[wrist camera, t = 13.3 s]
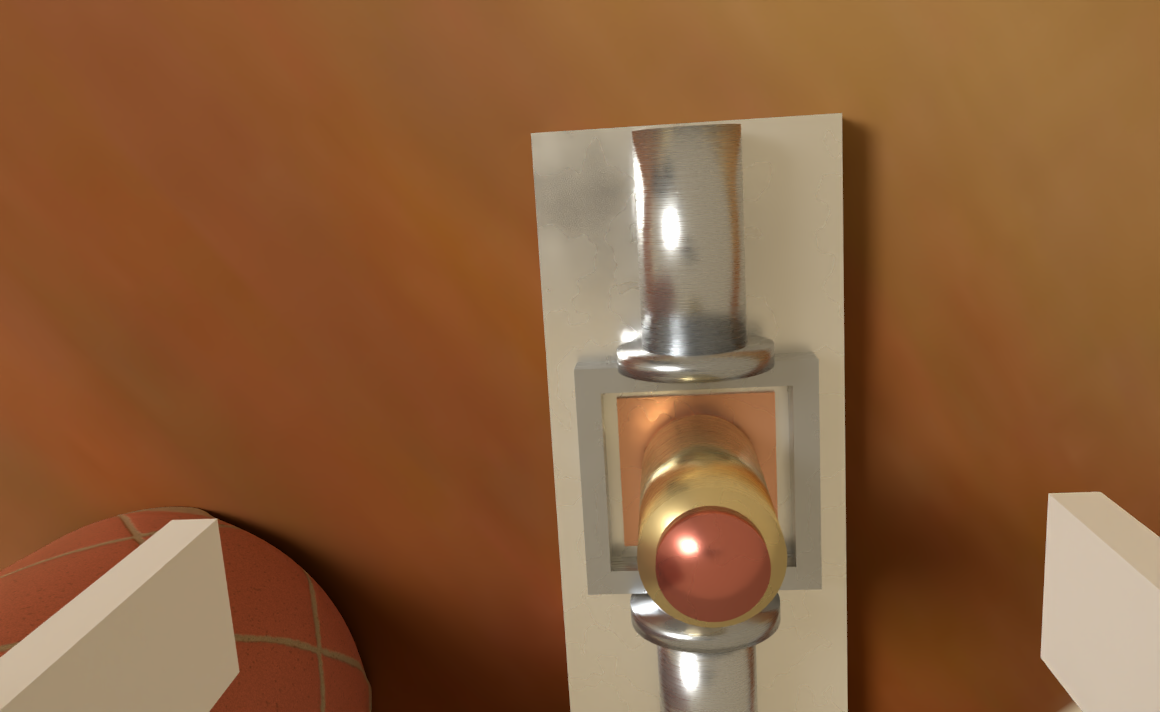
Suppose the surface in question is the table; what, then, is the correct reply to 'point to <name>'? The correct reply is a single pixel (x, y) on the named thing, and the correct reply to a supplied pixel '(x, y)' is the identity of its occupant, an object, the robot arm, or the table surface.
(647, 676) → the pipeline
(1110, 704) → the robot arm
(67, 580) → the planter
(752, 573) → the brass cylinder
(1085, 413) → the table surface
